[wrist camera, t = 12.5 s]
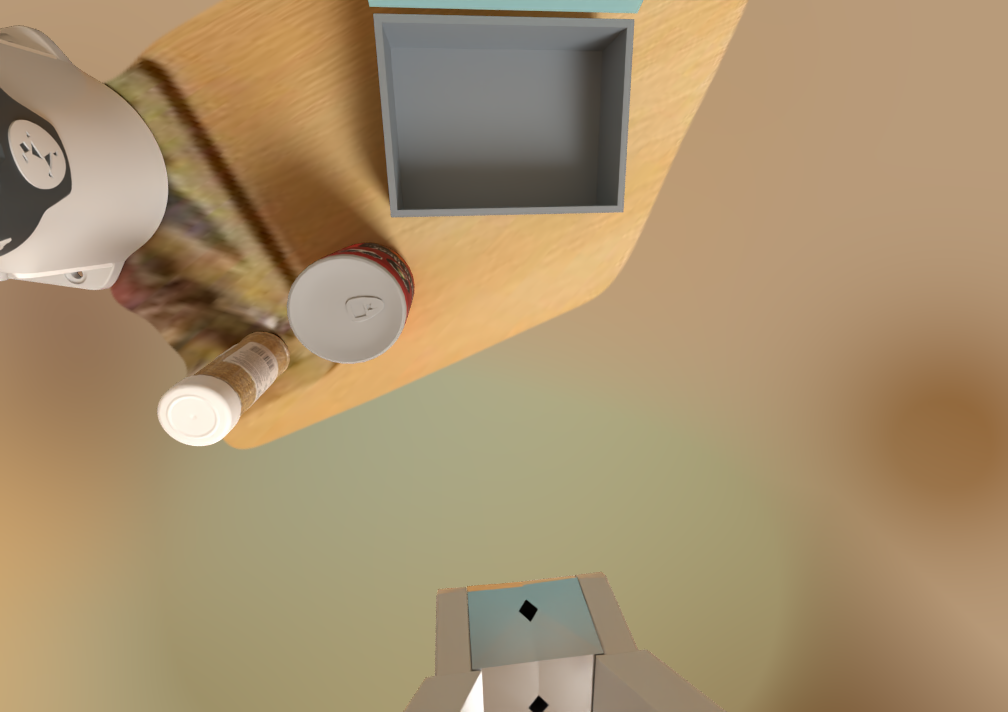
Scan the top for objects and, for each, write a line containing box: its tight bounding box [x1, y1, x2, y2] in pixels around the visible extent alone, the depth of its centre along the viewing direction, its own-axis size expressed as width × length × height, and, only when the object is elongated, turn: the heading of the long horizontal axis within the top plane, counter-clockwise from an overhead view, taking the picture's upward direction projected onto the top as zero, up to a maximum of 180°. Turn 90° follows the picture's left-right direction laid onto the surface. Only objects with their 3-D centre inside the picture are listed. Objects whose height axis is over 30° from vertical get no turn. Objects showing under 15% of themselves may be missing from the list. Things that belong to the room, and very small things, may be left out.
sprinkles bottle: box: [157, 332, 290, 446], centre depth 37 cm, size 5×5×13 cm
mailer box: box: [373, 13, 634, 217], centre depth 37 cm, size 18×13×6 cm
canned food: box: [287, 243, 414, 364], centre depth 38 cm, size 8×8×11 cm
